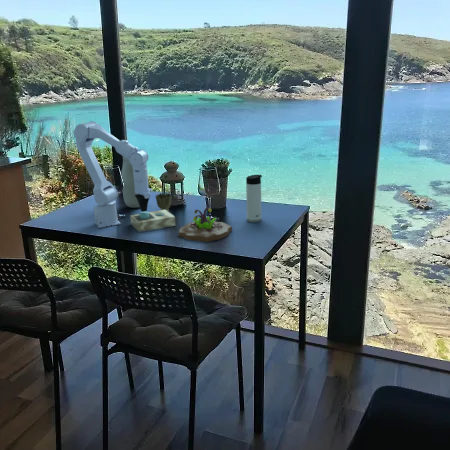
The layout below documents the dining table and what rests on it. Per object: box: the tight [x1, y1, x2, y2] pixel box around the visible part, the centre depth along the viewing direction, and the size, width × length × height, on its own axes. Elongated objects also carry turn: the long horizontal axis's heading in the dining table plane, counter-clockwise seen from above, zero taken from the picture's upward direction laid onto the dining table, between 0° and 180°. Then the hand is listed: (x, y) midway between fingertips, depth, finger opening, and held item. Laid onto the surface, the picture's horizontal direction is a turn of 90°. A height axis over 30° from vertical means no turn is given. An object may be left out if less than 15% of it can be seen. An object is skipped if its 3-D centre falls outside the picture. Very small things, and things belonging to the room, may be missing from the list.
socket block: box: [129, 209, 176, 232], centre depth 208 cm, size 16×12×4 cm
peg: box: [138, 211, 150, 219], centre depth 205 cm, size 4×4×4 cm
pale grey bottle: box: [120, 156, 140, 209], centre depth 230 cm, size 10×10×28 cm
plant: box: [178, 207, 233, 243], centre depth 195 cm, size 20×20×11 cm
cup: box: [154, 192, 173, 212], centre depth 225 cm, size 8×7×8 cm
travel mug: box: [245, 174, 263, 223], centre depth 206 cm, size 6×7×20 cm
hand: (143, 211), depth 205 cm, fingers closed
